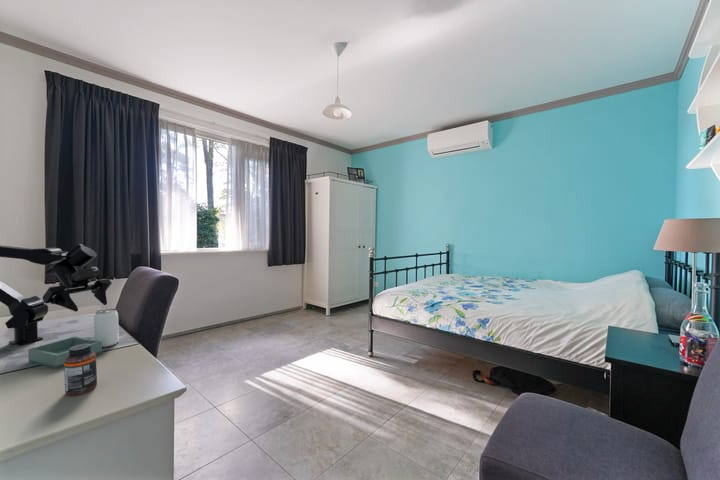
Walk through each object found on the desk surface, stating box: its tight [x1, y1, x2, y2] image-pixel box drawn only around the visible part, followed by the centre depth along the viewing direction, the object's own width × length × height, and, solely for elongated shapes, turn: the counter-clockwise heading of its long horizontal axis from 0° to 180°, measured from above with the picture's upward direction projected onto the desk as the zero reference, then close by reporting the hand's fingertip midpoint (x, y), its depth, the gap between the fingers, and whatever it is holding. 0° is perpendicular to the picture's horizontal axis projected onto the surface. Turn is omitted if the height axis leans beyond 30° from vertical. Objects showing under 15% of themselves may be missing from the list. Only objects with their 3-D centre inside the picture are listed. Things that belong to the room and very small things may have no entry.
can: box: [93, 308, 120, 348], centre depth 105 cm, size 6×6×12 cm
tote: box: [27, 335, 103, 370], centre depth 95 cm, size 14×12×4 cm
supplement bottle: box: [63, 344, 98, 396], centre depth 76 cm, size 6×6×11 cm
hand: (92, 307), depth 107 cm, fingers open, 9 cm apart
